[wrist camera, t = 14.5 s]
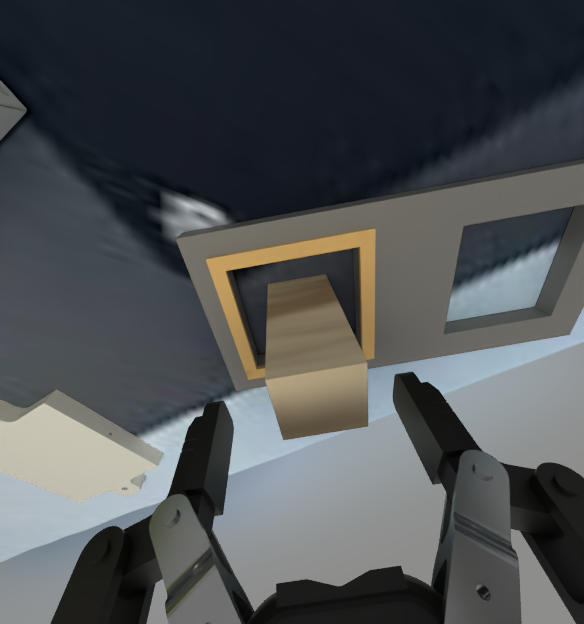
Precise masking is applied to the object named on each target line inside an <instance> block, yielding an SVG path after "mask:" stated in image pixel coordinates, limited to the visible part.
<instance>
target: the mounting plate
mask: <svg viewBox="0 0 584 624" xmlns="http://www.w3.org/2000/svg"><path fill="white" fill-rule="evenodd" d="M162 454H163V452H161V451H159V450H158V449H156V448H154V447H153V446H151V445H149V444H148V443H146V442H144V441H142V440H141V439H139V438H137V437H136V436H134V435H132V434H131V433H129V432H127V431H126V430H124V429H122V428H121V427H119V426H117V425H116V424H114V423H112V422H110V421H109V420H107V419H105V418H104V417H102V416H100V415H99V414H97V413H95V412H94V411H92V410H90V409H89V408H87V407H85V406H84V405H82V404H80V403H78V402H77V401H75V400H73V399H72V398H70V397H68V396H67V395H65V394H63V393H62V392H60V391H58V390H57V389H56V390H55V391H53V392H52V393H50V394H49V395H47V396H46V397H44V398H43V399H41V400H39V401H38V402H36V403H35V404H33V405H32V406H30V407H28V408H19V407H16V406H13V405H11V404H9V403H7V402H5V401H2V400H0V472H3V473H5V474H8V475H10V476H13V477H16V478H18V479H21V480H23V481H26V482H28V483H31V484H34V485H36V486H39V487H41V488H44V489H46V490H49V491H51V492H54V493H57V494H59V495H62V496H64V497H67V498H69V499H72V500H74V501H77V502H80V503H82V502H84V501H86V500H88V499H90V498H92V497H94V496H96V495H99V494H101V493H103V492H107V491H110V492H115V493H117V494H120V495H123V496H130V495H133V494H135V493H137V492H139V491H140V489H141V487H142V484H143V482H144V479H145V474H144V473H145V472H147V471H149V470H151V469H153V468H155V467H157V466H158V465H159V463H160V460H161V457H162Z"/></svg>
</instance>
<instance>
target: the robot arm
mask: <svg viewBox="0 0 584 624" xmlns="http://www.w3.org/2000/svg"><path fill="white" fill-rule="evenodd" d="M393 402H394V406H395V408H396V411H397V413H398V415H399V417H400V419H401V421H402V423H403V425H404V427H405V429H406V431H407V433H408V435H409V437H410V439H411V441H412V443H413V445H414V447H415V449H416V452H417V454H418V456H419V458H420V460H421V462H422V464H423V466H424V468H425V470H426V472H427V474H428V476H429V478H430V480H431V482H432V484H433V485H434V484H440V483H442V485H443V487H444V488H445V490H446V497H445V504H444V511H443V519H442V525H441V532H440V539H439V546H438V551H437V555H436V559H435V564H434V569H433V575H432V582H431V586H429V585H428V584H426V583H425V582H423V581H421V580H419V579H417V578H415V577H412V576H410V575H406V574H403V571H402V568H401V566H396V567H389V568H382V569H376V570H370V571H368V572H366V573H364V574H363V575H361V576H359V577H357V578H355V579H354V580H352V581H350V582H349V583H347V584H345V585H343V586H333V585H329V584H325V583H320V582H316V581H312V580H307V579H306V580H299V581H292V582H285V583H279V584H276V591H277V592H276V593H274V594H272V595H271V596H270V597H269V598H267V599H266V600H265V601H264V602H263V603H262V604H261V605H260V606H259V607H258V608H257V610H256V611H254V610H253V607H252V605H251V603H250V601H249V599H248V597H247V596H246V594H245V592H244V590H243V588H242V587H241V585H240V583H239V581H238V580H237V578H236V576H235V574H234V573H233V570H232V568H231V566H230V564H229V562H228V560H227V558H226V556H225V554H224V552H223V550H222V548H221V546H220V544H219V542H218V540H217V538H216V536H215V534H214V532H213V530H212V526H213V519H214V516H218V515H223V510H224V502H225V495H226V487H227V479H228V472H229V464H230V457H231V449H232V441H233V433H234V427H233V421H232V418H231V416H230V414H229V411H228V409H227V407H226V405H225V402H224V401H218V402H211V403H207V404H206V405H205V408H204V412H203V416H200V417H196V418H195V419H194V421H193V422H192V423H191V425H190V426H189V428H188V431H187V434H186V437H185V443H184V444H183V448H182V453H181V454H180V458H179V461H178V464H177V468H176V471H175V474H174V478H173V481H172V485H171V488H170V491H169V494H168V496H167V498H166V499H165V500H164V501H163V502H162V503H161V504H160V505H159V506H158V507H157V508H156V510H155V512H154V513H153V514H152V515H150V516H149V517H147V518H146V519H143V520H142V521H140V522H138V523H136V524H134V525H132V526H130V527H128V528H126V529H125V530H122V529H120V528H119V527H116V526H110V527H107V528H105V529H103V530H102V531H100V532H99V533H97V534H96V535H95V536H94V537H93V538H92V539H91V540H90V541H89V542H88V544H87V545H86V546H85V548H84V550H83V551H82V553H81V555H80V557H79V559H78V561H77V563H76V566H75V568H74V570H73V573H72V575H71V577H70V580H69V582H68V584H67V587H66V589H65V591H64V594H63V596H62V598H61V601H60V603H59V605H58V608H57V610H56V612H55V615H54V617H53V619H52V622H51V624H146V623H147V618H148V614H149V609H150V605H151V601H152V596H153V592H154V587H155V583H156V582H158V581H160V580H161V579H163V580H164V583H165V587H166V590H167V595H168V597H167V600H166V602H165V608H166V614H167V618H168V622H169V624H521V602H520V578H519V562H518V557H517V553H516V552H515V550H513V548H512V545H511V529H514V530H519V531H520V532H521V533H522V535H523V537H524V538H525V540H526V541H527V543H528V545H529V546H530V548H531V550H532V551H533V553H534V555H535V556H536V558H537V560H538V561H539V563H540V564H541V566H542V568H543V569H544V571H545V573H546V575H547V576H548V578H549V579H550V581H551V583H552V584H553V586H554V588H555V589H556V591H557V593H558V594H559V596H560V597H561V599H562V601H563V602H564V604H565V606H566V607H567V609H568V611H569V612H570V614H571V616H572V617H573V619H574V621H575V622H576V624H584V478H583V477H582V476H581V475H579V474H578V473H576V472H575V471H573V470H571V469H569V468H568V467H565V466H563V465H560V464H557V463H543V464H541V465H539V466H538V468H537V469H530V468H524V467H519V466H513V465H507V464H504V463H501V462H499V461H498V460H497V459H495V458H494V457H493V456H491V455H489V454H487V453H485V452H483V451H482V450H481V449H480V448H479V446H478V445H477V444H476V442H475V441H474V440H473V438H472V437H471V435H470V434H469V432H468V431H467V430H466V428H465V427H464V425H463V424H462V423H461V421H460V420H459V418H458V417H457V415H456V414H455V413H454V412H453V411H452V409H451V407H450V406H449V404H448V403H447V402H446V400H445V399H444V397H443V396H442V394H441V393H440V391H439V390H438V389H436V388H435V387H434V386H432V385H431V384H430V383H428V382H423V383H421V382H420V381H419V379H418V378H417V376H416V375H415V374H414V373H413V372H407V373H401V374H396V375H395V378H394V388H393Z"/></svg>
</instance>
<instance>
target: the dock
mask: <svg viewBox="0 0 584 624" xmlns="http://www.w3.org/2000/svg"><path fill="white" fill-rule="evenodd" d="M571 206H575V207H574V209H573V212H572V214H571V217H570V219H569V222H568V225H567V227H566V230H565V232H564V235H563V237H562V240H561V242H560V245H559V248H558V250H557V253H556V255H555V258H554V260H553V263H552V265H551V268H550V271H549V273H548V276H547V278H546V281H545V283H544V286H543V289H542V291H541V294H540V296H539V299H538V301H537V304H536V306H535V307H533V308H527V309H521V310H516V311H510V312H504V313H498V314H492V315H487V316H481V317H475V318H469V319H463V320H458V321H452V322H446V318H447V313H448V307H449V302H450V296H451V291H452V285H453V280H454V275H455V269H456V264H457V258H458V253H459V247H460V242H461V237H462V231H463V226H466V225H472V224H477V223H483V222H488V221H494V220H499V219H505V218H510V217H516V216H522V215H527V214H533V213H538V212H544V211H549V210H555V209H560V208H566V207H571ZM176 241H177V244H178V246H179V249H180V251H181V254H182V256H183V259H184V261H185V264H186V266H187V269H188V271H189V274H190V276H191V279H192V281H193V284H194V286H195V289H196V291H197V294H198V296H199V299H200V301H201V304H202V306H203V309H204V311H205V314H206V316H207V319H208V321H209V324H210V326H211V329H212V331H213V334H214V336H215V339H216V341H217V344H218V346H219V349H220V351H221V354H222V356H223V359H224V361H225V364H226V366H227V369H228V371H229V374H230V376H231V379H232V381H233V384H234V386H235V389H236V391H240V390H246V389H252V388H258V387H264V386H267V385H266V382H265V363H266V354H260V355H258V354H257V351H256V347H255V344H254V341H253V337H252V334H251V331H250V327H249V324H248V321H247V318H246V314H245V311H244V308H243V304H242V301H241V298H240V295H239V291H238V288H237V285H236V281H235V278H234V275H233V271H232V270H234V269H240V268H245V267H251V266H256V265H262V264H267V263H273V262H278V261H284V260H289V259H295V258H301V257H306V256H312V255H317V254H323V253H328V252H334V251H339V250H345V249H350V248H353V270H354V296H355V322H356V340H357V342H358V344H359V346H360V348H361V350H362V352H363V355H364V357H365V359H366V361H367V369H370V368H376V367H382V366H388V365H394V364H399V363H405V362H411V361H417V360H423V359H429V358H435V357H441V356H447V355H453V354H459V353H464V352H470V351H476V350H482V349H488V348H494V347H500V346H506V345H512V344H518V343H524V342H529V341H535V340H541V339H547V338H553V337H559V336H565V335H570V333H571V331H572V329H573V327H574V325H575V323H576V321H577V319H578V317H579V315H580V313H581V311H582V309H583V307H584V159H580V160H575V161H569V162H564V163H558V164H553V165H548V166H542V167H537V168H531V169H526V170H521V171H515V172H510V173H504V174H499V175H494V176H488V177H483V178H477V179H472V180H466V181H461V182H456V183H450V184H445V185H439V186H434V187H429V188H423V189H418V190H412V191H407V192H401V193H396V194H391V195H385V196H380V197H374V198H369V199H364V200H358V201H353V202H347V203H342V204H337V205H331V206H326V207H320V208H315V209H309V210H304V211H299V212H293V213H288V214H282V215H277V216H272V217H266V218H261V219H255V220H250V221H244V222H239V223H234V224H228V225H223V226H217V227H212V228H207V229H201V230H196V231H190V232H185V233H182V234H181V235H180V236H178V237H177V238H176Z"/></svg>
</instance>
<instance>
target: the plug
mask: <svg viewBox="0 0 584 624" xmlns="http://www.w3.org/2000/svg"><path fill="white" fill-rule="evenodd" d="M265 382H266V385H267V388H268V392H269V395H270V398H271V401H272V405H273V408H274V411H275V414H276V418H277V421H278V424H279V427H280V431H281V434H282V437H283V440H288V439H294V438H300V437H306V436H312V435H318V434H324V433H330V432H336V431H342V430H349V429H355V428H361V427H367V426H368V375H367V361H366V359H365V357H364V355H363V352H362V350H361V348H360V346H359V344H358V342H357V340H356V338H355V335H354V333H353V331H352V329H351V327H350V325H349V323H348V321H347V318H346V316H345V314H344V312H343V310H342V308H341V306H340V304H339V301H338V299H337V297H336V295H335V293H334V291H333V289H332V287H331V285H330V282H329V280H328V278H327V276H326V274H321V275H315V276H310V277H304V278H299V279H293V280H288V281H282V282H277V283H271V284H268V294H267V328H266V363H265Z"/></svg>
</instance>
